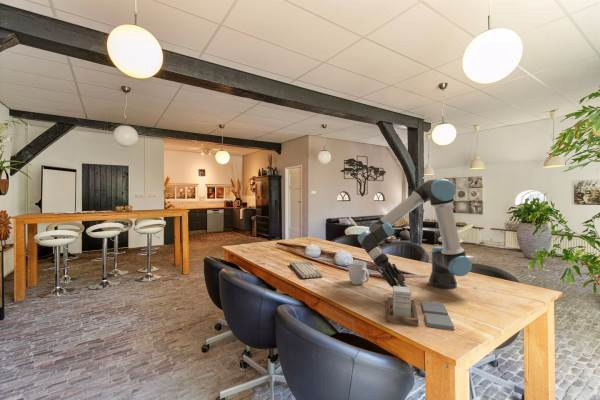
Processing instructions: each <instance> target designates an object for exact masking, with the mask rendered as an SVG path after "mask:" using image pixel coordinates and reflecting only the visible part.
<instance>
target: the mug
mask: <svg viewBox="0 0 600 400" xmlns="http://www.w3.org/2000/svg"><path fill="white" fill-rule="evenodd" d="M347 265H348V266H347V269H348V271H347V273H348V276H349V277H348V278H349V279H350V283H352V284H353V285H355V286H360V285H361V286H362V285H363V284H364V283H367V282H369V280H370V273H369V270H368V269H367V262H366V261H364V260H357V259H356V260H354V259H353V260H349V261H348V264H347ZM365 279H366V280H365Z"/></svg>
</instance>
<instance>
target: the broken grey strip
mask: <svg viewBox="0 0 600 400" xmlns="http://www.w3.org/2000/svg"><path fill="white" fill-rule="evenodd" d="M421 306H422V311H423V314H424V319H425V322H426V327H430V328H437V329H443V330H452V331H454V330H455V325H454V323H453V321H452V319H451V317H450V315H449V313H448V310H447V308H446V306H445V304H444V303H443V302H442V303H439V302H432V301H423V300H422V301H421Z"/></svg>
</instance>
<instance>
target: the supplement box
mask: <svg viewBox="0 0 600 400" xmlns="http://www.w3.org/2000/svg"><path fill="white" fill-rule="evenodd" d="M410 290H411V289H410V287H409V286H408V287H402V286H393V287H392V298H393V308H392V313H393V314H392V315H393V316H401V317H408V318H412V310H411V300H412V295H411V292H412V291H411V292H410Z"/></svg>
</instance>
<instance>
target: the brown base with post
mask: <svg viewBox="0 0 600 400" xmlns="http://www.w3.org/2000/svg"><path fill="white" fill-rule="evenodd" d="M401 274H402V273H401ZM401 274H397V280H396V282H397V285H398V284H399V285H400V286H402V287H404V282H405V281H404V278H405V275H404V274H402V275H401ZM386 299H387V300H386V315H385V316H386V317H385V318H386V319H385V322H386V323H393V324H394V323H395V324H399V325H400V324H401V325H407V326H414V327H415V326H416V327H419V316H418V311H417V307H416V303H415V299H411V314H412V316H413V317H411V318H408V317H401V316H394V314H391V309H393V296H392V297H390V296H387V298H386Z"/></svg>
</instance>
